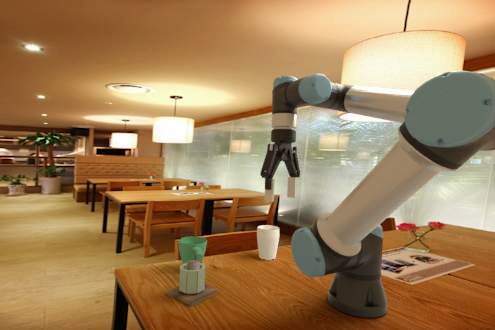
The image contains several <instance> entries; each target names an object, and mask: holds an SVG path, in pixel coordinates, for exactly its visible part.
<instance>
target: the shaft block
mask: <svg viewBox="0 0 495 330" xmlns="http://www.w3.org/2000/svg"><path fill="white" fill-rule="evenodd" d="M198 269H200V261H198V260H190V261H188V262H187V270H198ZM218 293H219V290H218V289H217V288H216V287H215V288H214V287H212V286H210V285H207V284H205V290H203V291H201V292H199V293H193V294H187V293H183V292H181V291H179V285H178V286H176V287H173V288H172V289H171V288H170V289H169V290H167V291H166V295H167V296H169V297H171V298H172V299H175V300H176V301H180V302H181V303H184V304H186V305H188V306H190V307H193V306H195V305H197V304H200V303H201V302H203V301H205V300H207V299H209V298H211V297H213V296H215V295H216V294H218Z"/></svg>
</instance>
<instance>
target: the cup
mask: <svg viewBox="0 0 495 330" xmlns="http://www.w3.org/2000/svg"><path fill="white" fill-rule="evenodd" d="M256 240H257V241H256V242H257V250H258V251H257V252H258V258H259V259H260V258H261V260H263V259H265V260H264V261H273V260H272V259H274V260H275V259H276V257H277V253H278V252H277V251H278V249H279V248H278V246H279V241H280V227H278V226H277V225H271V224H270V225H269V224H265V225H264V224H262V225H258V226H257V229H256Z"/></svg>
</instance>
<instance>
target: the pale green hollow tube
mask: <svg viewBox="0 0 495 330" xmlns="http://www.w3.org/2000/svg"><path fill="white" fill-rule="evenodd" d="M205 285H206V264H204V263H203V262H202V263H200V269H198V270H187V263H185V264H183V263H182V264H180V266H179V283H178V286H179V291H181V292H183V293H187V294H193V293H199V292H201V291H203V290H205Z"/></svg>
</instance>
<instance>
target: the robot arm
mask: <svg viewBox="0 0 495 330" xmlns="http://www.w3.org/2000/svg"><path fill="white" fill-rule="evenodd" d="M272 84H273V85H272V91H271V93H272V94H271V95H272V96H271V101H272V102H271V128H272V129H271V130H270V142H272V143H268V144H267V151H266V154H265V158H264V160H263V163H262V167H261V170H260V176H261V179H264V199H263V200H264V202H271V203H273V202H275V188H276V187H275V181H276V178H274V176H275V174H276V172H277V170H278V168H279V166H280V164H281V162H284V164H285V167H286V170H287V173H288V175H289V176H287V193H286V198H291V199H292V198H293V199H297V179H298V178H300V177H301V170H300V163H299V160H298V159H299V157H298V150H297V149H298V147H297V146H293V145H292V143H293V144H294V143H295V142H296V141H297V131H296V130H295V129H297V124H298V123H297V121H298V119H297V118H298V117H297V116H298V111H297V110H298V108H301V107H306V106H309V107H315V108H319V109H320V108H321V109H328V110H332V111H338V112H341V113H347V114H354V115H359V116H365V117H370V118H375V119H380V120H385V121H390V122H395V123H400V124H401V125H400V126H399V127H398V129H397V132H398V139H399V140H398V141H397V142H396V143H395V144H394V145H393V147H391V149H389V151H388V152H387V153H386V154H385V155H384V156H383V157H382V158H381V159H380V160H379V162H378V163H376V165H375V166H374V167H373V168H372V169H370V171H369V172H368V173H367V175H366V176H364V178H362V180H361V181H360V182H359V183H358V184H357V186H355V187H354V189H353V190H351V192H350V193H349V194H348V195H347V196H346V197H345V198H344V199H343V200H342V201H341V202H340V204H338V205H337V207H336V208H335V209H334V210H333V211H332V212H325V213H322V214H321V215H320V216H318V218H317V219H316V220H315V221H314V222H313V223H312V224H311V225H310V226H309V227H306V226H303V227H301V228H297V229H296V230H295V231H294V232H293V234H292V236H291V242H290V249H291V255H292V259H293V260H294V264H295V266H296V267H297V269H298V270H299V271H300V273H302V274H303V275H305V276H306V277H308V278H322V277H324V276H328V275H331V274H334V275H333V278H332V280H331V284H330V285H329V287H328V291H327V293H328V294H327V300H328V302H329V304H330V305H331V306H332V307H333V308H335V310H338V311H339V312H342V313H345V314H348V315H350V316H354V317H360V318H367V319H368V318H370V319H371V318H373V319H374V318H379V317H383V316H384V315H386V314H387V311H388V299H387V295H386V293H385V288H384V285H383V281H382V263H383V248H384V245H383V243H384V236H383V235H384V234H383V232H384V229H383V227H382V225H381V224H382V223H383V222H384V221H385V220H387V218H389V217H390V216H391V215H393V213H394V212H395V211H397V210H398V209H400V207H401V206H402V205H403V204H405V203H406V202H407V201H408V200H409V199H411V197H413V196H414V195H415V194H416V193H417V192H419V191H420V189H421V188H423V187H424V186H425V185H426V184H427V183H429V182H430V180H432V179H433V178H434V177H435V176H437V174H439V173H440V172H445V171H446V172H455V171H457V170H458V169H460V168H461V166H463V165H464V164H466V163H467V162H468V161H470V159H471V158H473V156H475V155H476V154H477V153H478V152H481V151H484V152H490V151H495V79H494V78H493V77H491V76H488V75H486V74H485V73H481V72H475V71H474V72H473V71H468V70H451V71H447V72H446V71H445V72H441V73H439V74H437V75H434V76H432V77H430V78H429V79H427V80H425V81H424V82H423V83H421V84H420V85H419V86H418V87H417V88H416V89H415V90H414V91H412V90H402V89H392V88H381V87H370V86H369V87H368V86H361V85H351V84H341V83H336V82H333V81H331V80H330V78H328V77H327V76H326V75H325V74H323V73H313V74H308V75H306V76H304V77H300V78H297V77H296V76H293V75H282V76H281V75H279V76H277V77H276V78H274V79H273V83H272Z"/></svg>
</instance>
